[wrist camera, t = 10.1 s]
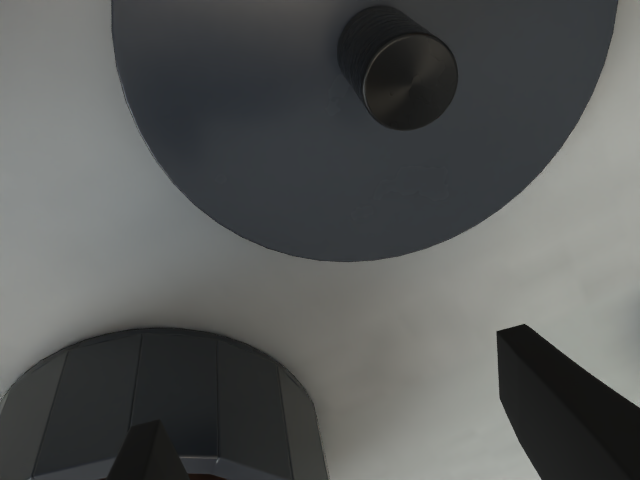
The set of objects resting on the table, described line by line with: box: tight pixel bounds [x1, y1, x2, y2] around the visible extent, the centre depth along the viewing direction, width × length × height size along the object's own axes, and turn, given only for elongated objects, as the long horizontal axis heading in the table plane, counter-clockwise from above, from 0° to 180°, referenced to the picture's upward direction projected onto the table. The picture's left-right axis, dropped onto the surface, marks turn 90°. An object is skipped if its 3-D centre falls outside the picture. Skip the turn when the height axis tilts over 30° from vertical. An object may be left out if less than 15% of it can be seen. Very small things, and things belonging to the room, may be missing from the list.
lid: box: [111, 0, 618, 262], centre depth 16 cm, size 15×15×4 cm
